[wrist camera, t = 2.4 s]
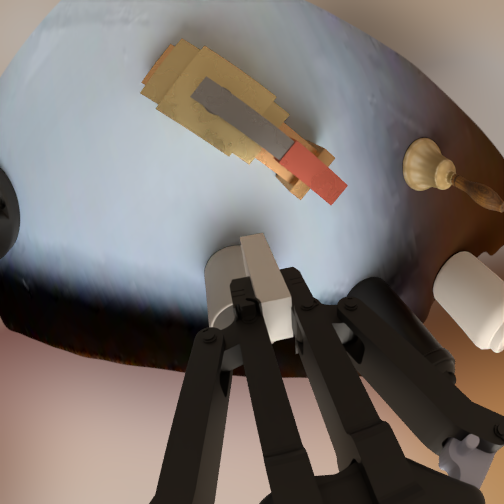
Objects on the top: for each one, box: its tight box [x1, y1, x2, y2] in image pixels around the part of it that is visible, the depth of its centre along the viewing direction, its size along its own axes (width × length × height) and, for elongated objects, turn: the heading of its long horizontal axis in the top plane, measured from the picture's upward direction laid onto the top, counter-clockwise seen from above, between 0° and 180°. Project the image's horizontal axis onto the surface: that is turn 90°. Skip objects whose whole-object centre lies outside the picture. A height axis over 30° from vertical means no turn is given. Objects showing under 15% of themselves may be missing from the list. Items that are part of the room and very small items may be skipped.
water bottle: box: [347, 277, 456, 385], centre depth 38 cm, size 10×10×23 cm
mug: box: [204, 245, 275, 344], centre depth 36 cm, size 12×8×11 cm
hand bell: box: [403, 138, 504, 212], centre depth 30 cm, size 8×8×16 cm
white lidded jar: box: [433, 251, 504, 353], centre depth 42 cm, size 12×12×20 cm
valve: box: [140, 39, 335, 200], centre depth 27 cm, size 20×7×7 cm, turn 52°
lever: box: [190, 76, 348, 205], centre depth 24 cm, size 15×2×4 cm, turn 52°
